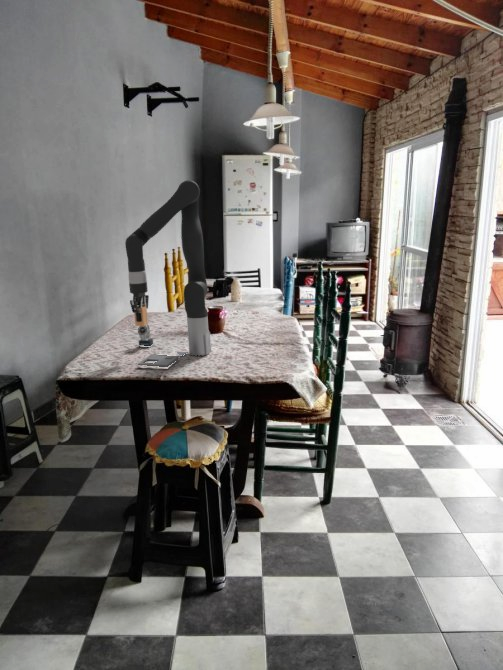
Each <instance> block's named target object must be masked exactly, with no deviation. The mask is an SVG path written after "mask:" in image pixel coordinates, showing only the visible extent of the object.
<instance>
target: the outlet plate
mask: <svg viewBox="0 0 503 670" xmlns="http://www.w3.org/2000/svg"><path fill="white" fill-rule="evenodd" d="M179 358H180V357H179V356H167V355H157V354H150V355H149V356H147V357H146V358H144V359H143V360H141V361H140V362H138V363H137V366H138V365H147V366H159V367H168V366H169V365H171V364H172V363H174V362H175V361H177V360H178V359H179ZM179 360H180V359H179ZM146 361H157V362H155V363H154V364H153V363H145V362H146ZM177 362H178V361H177Z"/></svg>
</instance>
